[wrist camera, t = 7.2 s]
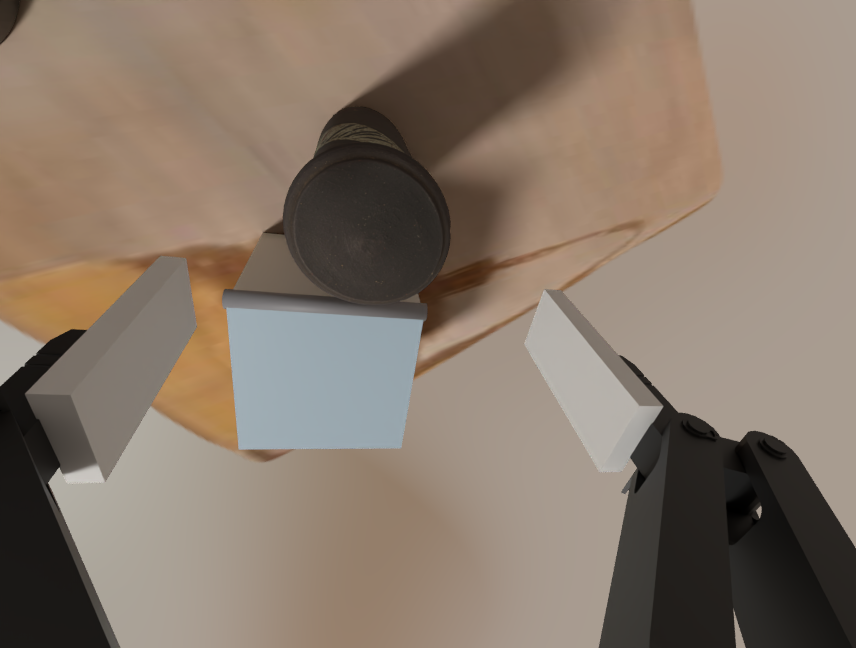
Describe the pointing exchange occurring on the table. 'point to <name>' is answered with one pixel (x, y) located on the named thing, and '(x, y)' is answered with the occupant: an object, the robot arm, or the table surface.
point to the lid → (320, 369)
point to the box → (279, 271)
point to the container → (366, 213)
